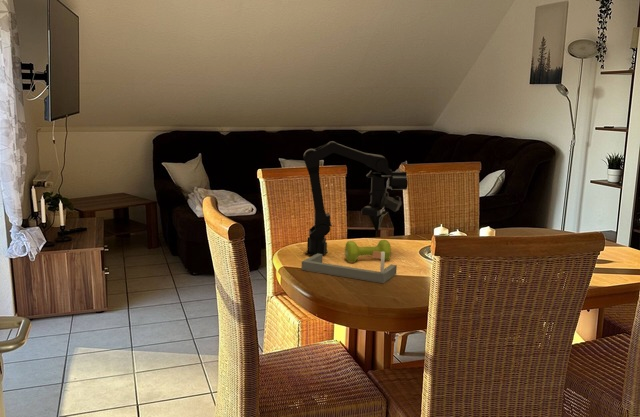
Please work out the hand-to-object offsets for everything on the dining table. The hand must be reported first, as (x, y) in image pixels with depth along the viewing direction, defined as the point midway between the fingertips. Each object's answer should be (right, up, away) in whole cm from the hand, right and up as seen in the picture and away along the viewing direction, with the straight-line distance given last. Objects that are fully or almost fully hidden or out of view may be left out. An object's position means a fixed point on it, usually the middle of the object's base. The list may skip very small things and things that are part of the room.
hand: (377, 230), depth 224 cm
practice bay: (-12, -13, -21) cm, 28 cm away
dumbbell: (-4, -11, -6) cm, 13 cm away
